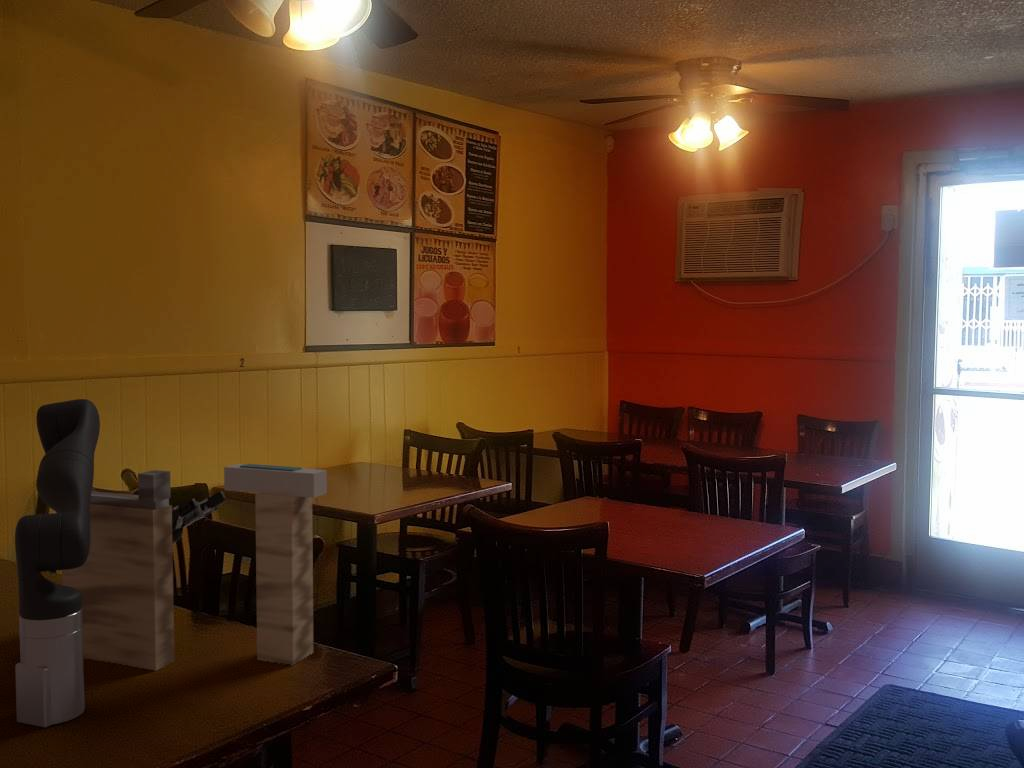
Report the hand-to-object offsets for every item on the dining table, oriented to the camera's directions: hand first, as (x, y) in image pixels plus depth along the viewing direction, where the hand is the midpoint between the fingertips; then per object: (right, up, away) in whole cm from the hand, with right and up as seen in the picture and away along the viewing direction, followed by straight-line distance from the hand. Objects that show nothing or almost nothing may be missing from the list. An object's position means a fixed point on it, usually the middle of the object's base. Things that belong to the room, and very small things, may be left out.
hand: (209, 499), depth 185 cm
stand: (+16, -30, -4) cm, 34 cm away
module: (+14, +2, -5) cm, 15 cm away
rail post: (-16, -30, -6) cm, 34 cm away
